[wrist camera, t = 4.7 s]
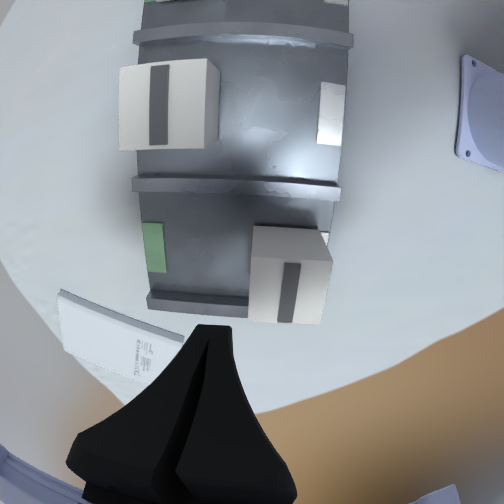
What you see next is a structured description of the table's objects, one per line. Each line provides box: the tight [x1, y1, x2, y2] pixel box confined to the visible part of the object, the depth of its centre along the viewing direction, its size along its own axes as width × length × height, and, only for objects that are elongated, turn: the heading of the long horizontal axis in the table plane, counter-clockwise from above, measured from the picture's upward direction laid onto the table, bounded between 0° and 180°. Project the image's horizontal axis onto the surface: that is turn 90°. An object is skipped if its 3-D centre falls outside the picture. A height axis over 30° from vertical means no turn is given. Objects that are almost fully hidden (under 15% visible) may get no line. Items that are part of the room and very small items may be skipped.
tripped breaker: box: [248, 226, 333, 324], centre depth 17 cm, size 4×4×4 cm
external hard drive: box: [57, 290, 184, 385], centre depth 25 cm, size 2×8×12 cm
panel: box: [132, 0, 353, 318], centre depth 15 cm, size 12×27×2 cm, turn 177°
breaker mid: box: [119, 58, 220, 151], centre depth 13 cm, size 4×4×4 cm
